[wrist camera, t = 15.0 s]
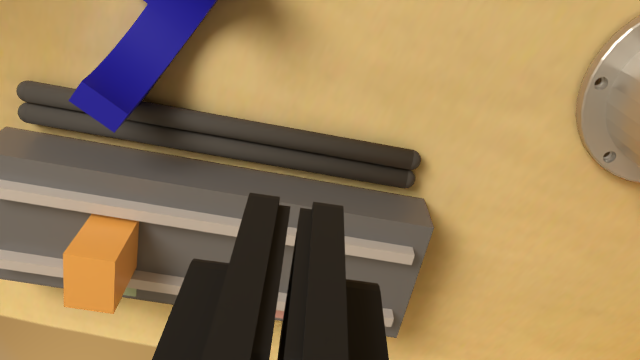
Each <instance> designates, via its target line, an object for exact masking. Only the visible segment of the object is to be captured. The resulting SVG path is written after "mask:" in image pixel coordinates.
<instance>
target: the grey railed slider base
mask: <svg viewBox="0 0 640 360" xmlns="http://www.w3.org/2000/svg"><path fill="white" fill-rule="evenodd" d="M249 193H257V194H264V195H271V196H278V197H280V201H279V205H285V206H291V207H290V215H289V222H288V229H287V236H286V243H285V250H284V257H283V264H282V272H281V279H280V286H279V293H278V300H277V307H276V314H275V320H280V321H283V316H284V309H285V303H286V296H287V290H288V283H289V277H290V270H291V264H292V258H293V251H294V245H295V238H296V232H297V225H298V219H299V212H300V208H306V209H312V204H313V202H320V203H327V204H334V205H341V206H343V208H344V236H345V266H346V279H349V280H357V281H364V282H371V283H378V285H379V286H380V291H381V299H382V308H383V316H384V324H385V333H386V336H387V337H394V338H397V335H398V332H399V329H400V326H401V323H402V320H403V317H404V314H405V311H406V308H407V305H408V302H409V299H410V297H411V294H412V291H413V288H414V285H415V282H416V279H417V276H418V273H419V270H420V267H421V264H422V261H423V258H424V255H425V253H426V250H427V247H428V244H429V241H430V238H431V235H432V232H433V229H434V227H433V224H432V221H431V218H430V215H429V212H428V209H427V206H426V203H425V201H424V199H422V198H416V197H410V196H404V195H398V194H393V193H387V192H381V191H375V190H369V189H364V188H358V187H352V186H346V185H340V184H335V183H329V182H323V181H317V180H312V179H306V178H300V177H294V176H288V175H283V174H277V173H271V172H265V171H259V170H254V169H248V168H242V167H236V166H230V165H225V164H219V163H213V162H207V161H202V160H196V159H190V158H184V157H178V156H173V155H167V154H161V153H155V152H149V151H144V150H138V149H132V148H126V147H120V146H115V145H109V144H103V143H97V142H92V141H86V140H80V139H74V138H68V137H63V136H57V135H51V134H45V133H39V132H34V131H28V130H22V129H16V128H10V127H5V128H3V129H2V130H1V131H0V279H4V280H11V281H18V282H24V283H31V284H38V285H45V286H51V287H58V288H64V282H63V253H64V252H65V250H66V249H67V247H68V246H69V245H70V243H71V242H72V240H73V239H74V238H75V236H76V235H77V233H78V232H79V231H80V229H81V228H82V227H83V225H84V224H85V222H86V221H87V220H88V218H89V217H90V215H91V214H98V215H104V216H110V217H116V218H122V219H129V220H135V221H139V233H138V252H137V267H136V269H135V271H134V273H133V275H132V277H131V279H130V281H129V283H128V285H127V287H126V289H125V292H124V294H123V296H122V297H125V298H132V299H139V300H145V301H152V302H159V303H166V304H172V305H174V303H175V300H176V298H177V295H178V293H179V290H180V288H181V285H182V283H183V280H184V278H185V275H186V273H187V270H188V268H189V265H190V263H191V261H192V260H193V259H194V258H195V259H202V260H209V261H217V262H224V263H229V262H230V259H231V255H232V252H233V248H234V245H235V241H236V238H237V234H238V231H239V227H240V224H241V220H242V217H243V213H244V210H245V206H246V203H247V200H248V196H249Z"/></svg>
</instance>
